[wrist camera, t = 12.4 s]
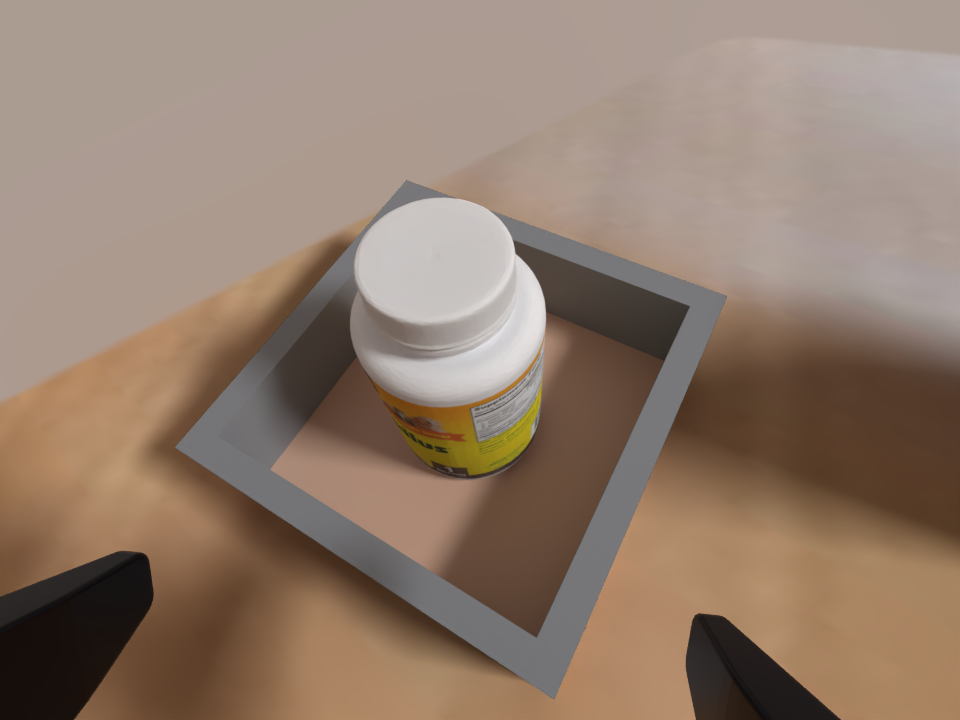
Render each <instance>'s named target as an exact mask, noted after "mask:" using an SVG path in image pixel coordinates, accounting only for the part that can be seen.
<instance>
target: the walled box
mask: <svg viewBox="0 0 960 720" xmlns="http://www.w3.org/2000/svg"><path fill="white" fill-rule="evenodd" d="M429 198H454V197H451V196H449V195H446V194H443V193H440V192H438V191H435V190H432V189H429V188H427V187H424V186H421V185H418V184H415V183H413V182H410V181H407V180H406V181H405V182H404V184H403V185H402V186H401V187H400V188H399V189H398V191H397V192H396V193H395V194H394V195H393V196H392V197H391V199H390V200H389V201H388V202H387V203H386V204H385V206H384V207H383V208H382V209H381V210H380V211H379V212H378V214H377V215H376V216H375V217H374V218H373V219H372V221H371V222H370V223H369V224H368V225H367V226H366V227H365V229H364V230H363V231H362V232H361V233H360V234H359V236H358V237H357V238H356V239H355V240H354V241H353V242H352V244H351V245H350V246H349V247H348V248H347V249H346V251H345V252H344V253H343V254H342V255H341V256H340V257H339V259H338V260H337V261H336V262H335V263H334V264H333V266H332V267H331V268H330V269H329V270H328V271H327V272H326V274H325V275H324V276H323V277H322V278H321V279H320V281H319V282H318V283H317V284H316V285H315V286H314V287H313V289H312V290H311V291H310V292H309V293H308V294H307V296H306V297H305V298H304V299H303V300H302V301H301V302H300V304H299V305H298V306H297V307H296V308H295V309H294V311H293V312H292V313H291V314H290V315H289V316H288V317H287V319H286V320H285V321H284V322H283V323H282V324H281V326H280V327H279V328H278V329H277V330H276V331H275V332H274V334H273V335H272V336H271V337H270V338H269V339H268V341H267V342H266V343H265V344H264V345H263V346H262V347H261V349H260V350H259V351H258V352H257V353H256V354H255V356H254V357H253V358H252V359H251V360H250V361H249V362H248V364H247V365H246V366H245V367H244V368H243V369H242V371H241V372H240V373H239V374H238V375H237V376H236V377H235V379H234V380H233V381H232V382H231V383H230V384H229V386H228V387H227V388H226V389H225V390H224V391H223V392H222V394H221V395H220V396H219V397H218V398H217V399H216V401H215V402H214V403H213V404H212V405H211V406H210V407H209V409H208V410H207V411H206V412H205V413H204V414H203V416H202V417H201V418H200V419H199V420H198V421H197V422H196V424H195V425H194V426H193V427H192V428H191V429H190V431H189V432H188V433H187V434H186V435H185V436H184V437H183V439H182V440H181V441H180V442H179V443H178V444H177V446H176V447H175V448H176V449H178V450H179V451H181V452H182V453H184V454H185V455H187V456H188V457H190V458H191V459H193V460H194V461H196V462H197V463H199V464H200V465H202V466H203V467H205V468H206V469H208V470H209V471H211V472H213V473H214V474H216V475H217V476H219V477H220V478H222V479H223V480H225V481H226V482H228V483H229V484H231V485H232V486H234V487H235V488H237V489H238V490H240V491H241V492H243V493H244V494H246V495H247V496H249V497H250V498H252V499H253V500H255V501H256V502H258V503H259V504H261V505H262V506H264V507H265V508H267V509H268V510H270V511H271V512H273V513H274V514H276V515H277V516H279V517H280V518H282V519H283V520H285V521H286V522H288V523H289V524H291V525H292V526H294V527H295V528H297V529H298V530H300V531H301V532H303V533H304V534H306V535H307V536H309V537H310V538H312V539H313V540H315V541H316V542H318V543H319V544H321V545H322V546H324V547H325V548H327V549H328V550H330V551H331V552H333V553H334V554H336V555H337V556H339V557H340V558H342V559H343V560H345V561H346V562H348V563H349V564H351V565H352V566H354V567H355V568H357V569H358V570H360V571H361V572H363V573H365V574H366V575H368V576H369V577H371V578H372V579H374V580H375V581H377V582H378V583H380V584H381V585H383V586H384V587H386V588H387V589H389V590H390V591H392V592H393V593H395V594H396V595H398V596H399V597H401V598H402V599H404V600H405V601H407V602H408V603H410V604H411V605H413V606H414V607H416V608H417V609H419V610H420V611H422V612H423V613H425V614H426V615H428V616H429V617H431V618H432V619H434V620H435V621H437V622H438V623H440V624H441V625H443V626H444V627H446V628H447V629H449V630H450V631H452V632H453V633H455V634H456V635H458V636H459V637H461V638H462V639H464V640H465V641H467V642H468V643H470V644H471V645H473V646H474V647H476V648H477V649H479V650H480V651H482V652H483V653H485V654H486V655H488V656H489V657H491V658H492V659H494V660H495V661H497V662H498V663H500V664H501V665H503V666H504V667H506V668H507V669H509V670H510V671H512V672H514V673H515V674H517V675H518V676H520V677H521V678H523V679H524V680H526V681H527V682H529V683H530V684H532V685H533V686H535V687H536V688H538V689H539V690H541V691H542V692H544V693H545V694H547V695H548V696H550V697H551V698H553V699H555V697H556V694H557V692H558V690H559V687H560V685H561V683H562V680H563V678H564V676H565V673H566V671H567V669H568V666H569V664H570V662H571V659H572V657H573V655H574V652H575V650H576V648H577V645H578V643H579V641H580V638H581V636H582V634H583V631H584V629H585V627H586V624H587V622H588V620H589V617H590V615H591V613H592V610H593V608H594V606H595V603H596V601H597V599H598V596H599V594H600V592H601V589H602V587H603V585H604V582H605V580H606V578H607V575H608V573H609V571H610V568H611V566H612V564H613V561H614V559H615V557H616V554H617V552H618V550H619V547H620V545H621V543H622V540H623V538H624V536H625V533H626V531H627V529H628V526H629V524H630V522H631V519H632V517H633V515H634V512H635V510H636V508H637V505H638V503H639V501H640V498H641V496H642V494H643V491H644V489H645V487H646V484H647V482H648V480H649V477H650V475H651V473H652V470H653V468H654V466H655V463H656V461H657V459H658V456H659V454H660V452H661V450H662V447H663V445H664V443H665V440H666V438H667V436H668V433H669V431H670V429H671V426H672V424H673V422H674V419H675V417H676V415H677V412H678V410H679V408H680V405H681V403H682V401H683V398H684V396H685V394H686V391H687V389H688V387H689V384H690V382H691V380H692V377H693V375H694V373H695V370H696V368H697V366H698V363H699V361H700V359H701V356H702V354H703V352H704V349H705V347H706V345H707V342H708V340H709V338H710V335H711V333H712V331H713V328H714V326H715V324H716V321H717V319H718V317H719V314H720V312H721V310H722V307H723V305H724V303H725V300H726V298H727V296H726V295H723V294H720V293H717V292H715V291H712V290H709V289H706V288H704V287H701V286H698V285H695V284H693V283H690V282H687V281H684V280H681V279H679V278H676V277H673V276H670V275H668V274H665V273H662V272H659V271H657V270H654V269H651V268H648V267H645V266H643V265H640V264H637V263H634V262H632V261H629V260H626V259H623V258H620V257H618V256H615V255H612V254H609V253H607V252H604V251H601V250H598V249H596V248H593V247H590V246H587V245H584V244H582V243H579V242H576V241H573V240H571V239H568V238H565V237H562V236H560V235H557V234H554V233H551V232H548V231H546V230H543V229H540V228H537V227H535V226H532V225H529V224H526V223H524V222H521V221H518V220H515V219H512V218H510V217H507V216H504V215H501V214H499V213H496V212H493V211H490V210H489V211H490V212H492V213H493V214H494V215H495V216H497V217H498V218H499V219H500V220H501V221H502V223H503V224H504V225H505V226H506V228H507V229H508V231H509V233H510V235H511V237H512V240H513V243H514V248H515V254H516V255H518V256H519V257H520V258H521V259H522V260H523V261H524V262H525V263H526V264H527V265H528V266H529V268H530V269H531V270H532V272H533V273H534V275H535V277H536V278H537V280H538V282H539V284H540V286H541V289H542V293H543V296H544V300H545V308H546V330H545V344H544V361H543V379H542V391H541V405H540V418H539V424H538V428H537V432H536V435H535V437H534V439H533V442H532V443H531V445H530V447H529V448H528V450H527V451H526V452H525V454H524V455H523V456H522V457H521V458H520V459H519V460H518V461H517V462H516V463H515V464H513V465H512V466H511V467H509V468H508V469H506V470H504V471H503V472H500V473H498V474H496V475H493V476H490V477H487V478H482V479H476V480H462V479H456V478H451V477H448V476H445V475H442V474H440V473H438V472H436V471H434V470H432V469H431V468H429V467H428V466H426V465H425V464H424V463H423V462H422V461H421V460H420V459H419V458H418V457H417V456H416V455H415V454H414V452H413V451H412V449H411V448H410V446H409V445H408V443H407V442H406V440H405V438H404V437H403V435H402V433H401V431H400V430H399V428H398V426H397V425H396V423H395V421H394V420H393V418H392V416H391V414H390V413H389V411H388V409H387V408H386V406H385V405H384V403H383V401H382V400H381V398H380V396H379V394H378V393H377V391H376V389H375V388H374V386H373V384H372V382H371V381H370V379H369V377H368V376H367V374H366V373H365V371H364V369H363V367H362V365H361V363H360V361H359V359H358V357H357V355H356V352H355V349H354V347H353V343H352V339H351V333H350V315H351V309H352V305H353V302H354V299H355V296H356V294H357V291H358V289H357V286H356V283H355V279H354V270H353V268H354V257H355V254H356V251H357V248H358V246H359V244H360V242H361V240H362V238H363V236H364V235H365V234H366V232H367V231H368V230H369V229H370V228H371V227H372V226H373V225H374V224H375V223H376V222H377V221H378V220H379V219H380V218H382V217H383V216H384V215H386V214H387V213H389V212H391V211H393V210H395V209H396V208H398V207H401V206H403V205H406V204H408V203H411V202H414V201H418V200H423V199H429ZM454 199H457V198H454Z"/></svg>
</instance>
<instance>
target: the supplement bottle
mask: <svg viewBox="0 0 960 720" xmlns="http://www.w3.org/2000/svg"><path fill="white" fill-rule="evenodd" d="M353 270H354V279H355V283H356V286H357V289H358V291H357V294H356V296H355V299H354V302H353V305H352V309H351V315H350V333H351V339H352V343H353V347H354V349H355V352H356V355H357V357H358V359H359V361H360V363H361V365H362V367H363V369H364V371H365V373H366V374H367V376H368V377H369V379H370V381H371V382H372V384H373V386H374V388H375V389H376V391H377V393H378V394H379V396H380V398H381V400H382V401H383V403H384V405H385V406H386V408H387V409H388V411H389V413H390V414H391V416H392V418H393V420H394V421H395V423H396V425H397V426H398V428H399V430H400V431H401V433H402V435H403V437H404V438H405V440H406V442H407V443H408V445H409V446H410V448H411V449H412V451H413V452H414V454H415V455H416V456H417V457H418V458H419V459H420V460H421V461H422V462H423V463H424V464H425V465H426V466H428V467H429V468H431V469H432V470H434V471H436V472H438V473H440V474H442V475H445V476H448V477H451V478H456V479H462V480H476V479H482V478H487V477H490V476H493V475H496V474H498V473H500V472H503V471H504V470H506V469H508V468H509V467H511V466H512V465H513V464H515V463H516V462H517V461H518V460H519V459H520V458H521V457H522V456H523V455H524V454H525V452H526V451H527V450H528V448H529V447H530V445H531V443H532V442H533V439H534V437H535V435H536V432H537V428H538V424H539V418H540V405H541V391H542V379H543V361H544V344H545V330H546V308H545V300H544V296H543V293H542V289H541V286H540V284H539V282H538V280H537V278H536V277H535V275H534V273H533V272H532V270H531V269H530V268H529V266H528V265H527V264H526V263H525V262H524V261H523V260H522V259H521V258H520V257H519V256H518V255H516V254H515V248H514V243H513V240H512V237H511V235H510V233H509V231H508V229H507V228H506V226H505V225H504V224H503V223H502V221H501V220H500V219H499V218H498V217H497V216H495V215H494V214H493V213H492V212H490V211H489V210H487V209H486V208H484V207H482V206H480V205H478V204H475V203H472V202H469V201H466V200H461V199H454V198H429V199H423V200H418V201H414V202H411V203H408V204H406V205H403V206H401V207H398V208H396V209H395V210H393V211H391V212H389V213H387V214H386V215H384V216H383V217H382V218H380V219H379V220H378V221H377V222H376V223H375V224H374V225H373V226H372V227H371V228H370V229H369V230H368V231H367V232H366V234H365V235H364V236H363V238H362V240H361V242H360V244H359V246H358V248H357V251H356V254H355V257H354V268H353Z"/></svg>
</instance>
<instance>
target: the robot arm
mask: <svg viewBox="0 0 960 720" xmlns="http://www.w3.org/2000/svg"><path fill="white" fill-rule="evenodd" d="M153 596H154V592H153V585H152V577H151V570H150V563H149V559H148V557H147V556H146V555H145V554H143V553H140V552H131V551H119V552H115V553H113V554H110V555H108V556H105V557H103V558H100V559H97V560H95V561H92V562H90V563H87V564H84V565H82V566H79V567H77V568H74V569H71V570H69V571H66V572H64V573H61V574H58V575H56V576H53V577H51V578H48V579H45V580H43V581H40V582H38V583H35V584H32V585H30V586H27V587H25V588H22V589H19V590H17V591H14V592H12V593H9V594H6V595H4V596H1V597H0V720H74V719H75V718H76V717H77V715H78V714H79V713H80V711H81V710H82V709H83V707H84V706H85V705H86V703H87V702H88V701H89V699H90V698H91V696H92V695H93V693H94V692H95V690H96V689H97V688H98V686H99V685H100V683H101V682H102V680H103V679H104V677H105V676H106V674H107V673H108V671H109V670H110V668H111V667H112V665H113V664H114V662H115V661H116V659H117V658H118V656H119V655H120V653H121V652H122V650H123V649H124V647H125V646H126V644H127V643H128V641H129V640H130V638H131V637H132V635H133V634H134V632H135V631H136V629H137V627H138V626H139V624H140V623H141V621H142V620H143V618H144V617H145V615H146V614H147V612H148V611H149V609H150V607H151V605H152V601H153ZM686 672H687V678H688V683H689V687H690V692H691V697H692V702H693V707H694V712H695V717H696V720H841V719H840V718H838V717H837V716H836V715H835V714H834V713H833V712H832V711H831V710H829V709H828V708H827V707H826V706H825V705H824V704H823V703H821V702H820V701H819V700H818V699H817V698H816V697H815V696H814V695H812V694H811V693H810V692H809V691H808V690H807V689H806V688H804V687H803V686H802V685H801V684H800V683H799V682H798V681H797V680H795V679H794V678H793V677H792V676H791V675H790V674H789V673H787V672H786V671H785V670H784V669H783V668H782V667H781V666H780V665H778V664H777V663H776V662H775V661H774V660H773V659H772V658H770V657H769V656H768V655H767V654H766V653H765V652H764V651H763V650H761V649H760V648H759V647H758V646H757V645H756V644H755V643H753V642H752V641H751V640H750V639H749V638H748V637H747V636H746V635H744V634H743V633H742V632H741V631H740V630H739V629H738V628H736V627H735V626H734V625H733V624H732V623H731V622H730V621H729V620H727V619H726V618H725V617H723V616H719V615H711V614H701V613H698V614H697V615H695V616H694V618H693V621H692V626H691V631H690V637H689V643H688V648H687V654H686Z"/></svg>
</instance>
